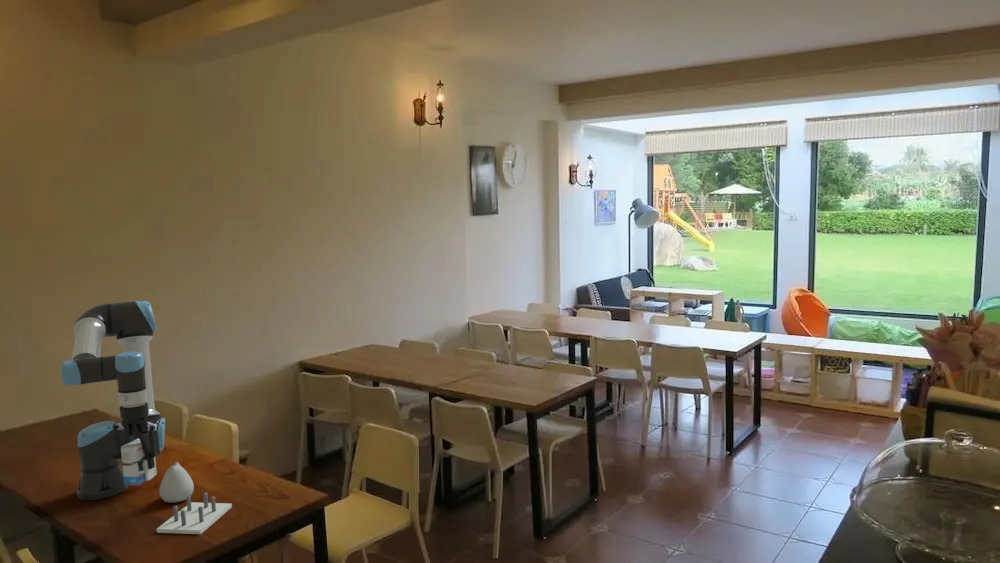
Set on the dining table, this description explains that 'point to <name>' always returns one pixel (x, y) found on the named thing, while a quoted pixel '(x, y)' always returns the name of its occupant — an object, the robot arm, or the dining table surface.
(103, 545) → the dining table surface
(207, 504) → the peg board
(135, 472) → the ink box
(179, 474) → the toy character
